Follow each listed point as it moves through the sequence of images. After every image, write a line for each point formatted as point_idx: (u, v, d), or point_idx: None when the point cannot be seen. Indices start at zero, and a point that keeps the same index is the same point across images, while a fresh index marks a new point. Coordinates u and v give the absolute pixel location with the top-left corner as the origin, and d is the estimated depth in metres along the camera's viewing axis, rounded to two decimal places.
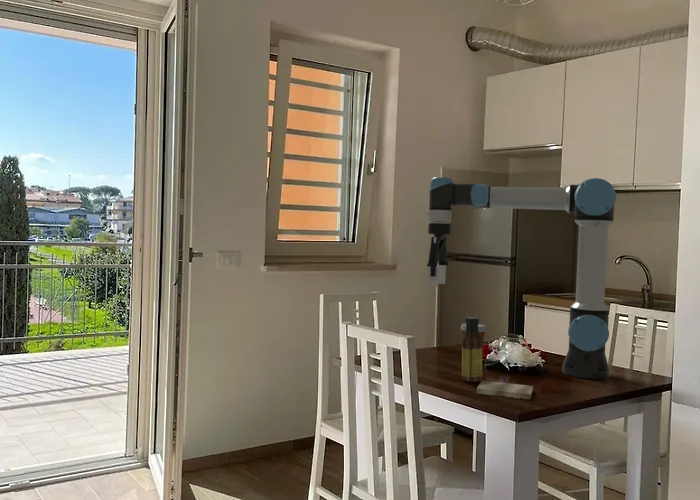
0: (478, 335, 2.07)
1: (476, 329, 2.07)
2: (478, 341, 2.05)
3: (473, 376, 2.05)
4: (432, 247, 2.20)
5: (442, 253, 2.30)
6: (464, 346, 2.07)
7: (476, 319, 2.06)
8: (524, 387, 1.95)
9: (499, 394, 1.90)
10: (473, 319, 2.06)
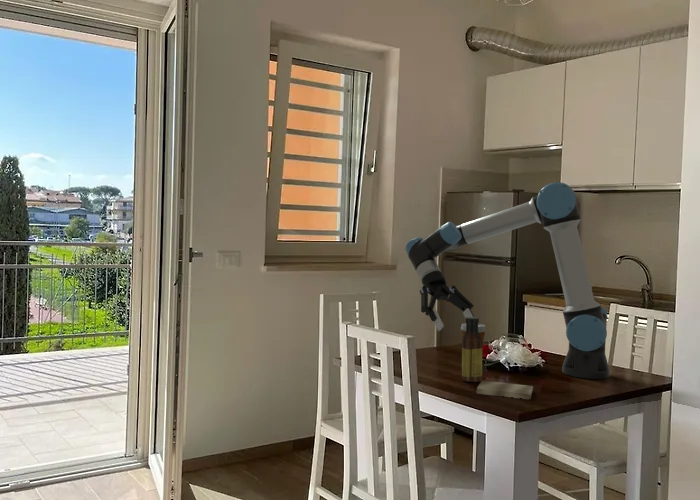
0: (478, 335, 2.07)
1: (477, 329, 2.07)
2: (478, 341, 2.05)
3: (473, 376, 2.05)
4: (422, 297, 2.17)
5: (454, 299, 2.21)
6: (464, 346, 2.07)
7: (476, 319, 2.06)
8: (524, 387, 1.95)
9: (499, 394, 1.90)
10: (473, 319, 2.06)
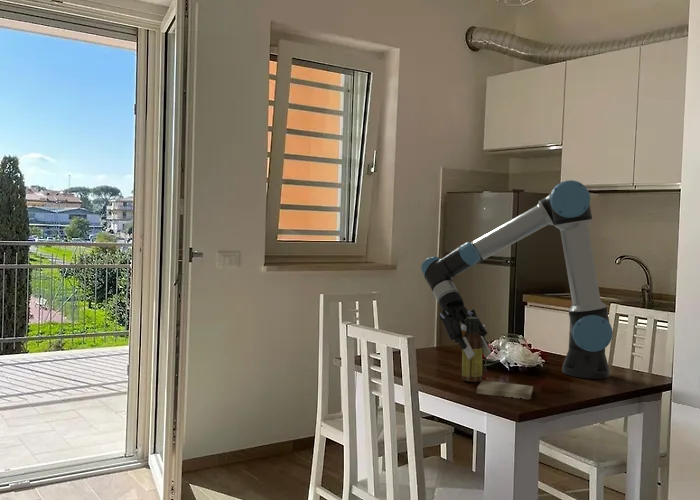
0: (478, 335, 2.07)
1: (477, 329, 2.07)
2: (478, 341, 2.06)
3: (473, 376, 2.05)
4: (445, 323, 2.10)
5: None
6: None
7: (476, 319, 2.06)
8: (524, 387, 1.95)
9: (499, 394, 1.90)
10: (473, 319, 2.06)
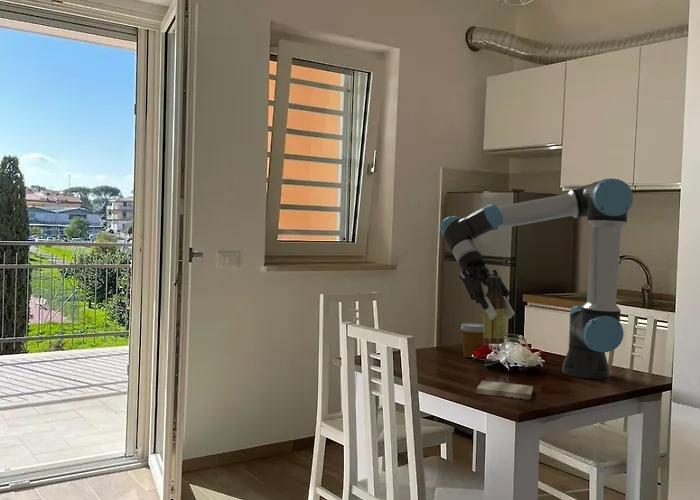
0: (500, 295, 1.97)
1: (499, 289, 1.97)
2: (501, 301, 1.96)
3: (495, 337, 1.95)
4: (465, 283, 2.00)
5: None
6: None
7: (498, 278, 1.96)
8: (524, 387, 1.95)
9: (499, 394, 1.90)
10: (495, 278, 1.96)
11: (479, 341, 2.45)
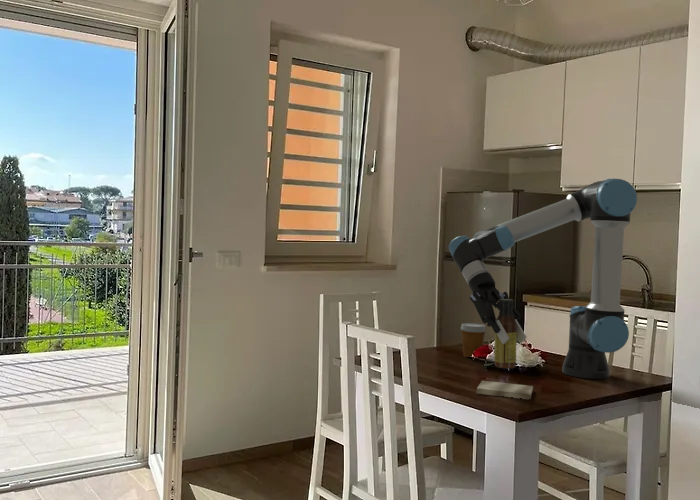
0: (513, 318, 1.93)
1: (511, 312, 1.93)
2: (513, 324, 1.92)
3: (507, 362, 1.91)
4: (476, 305, 1.96)
5: None
6: None
7: (511, 301, 1.92)
8: (524, 387, 1.95)
9: (499, 394, 1.90)
10: (508, 301, 1.92)
11: (479, 341, 2.45)
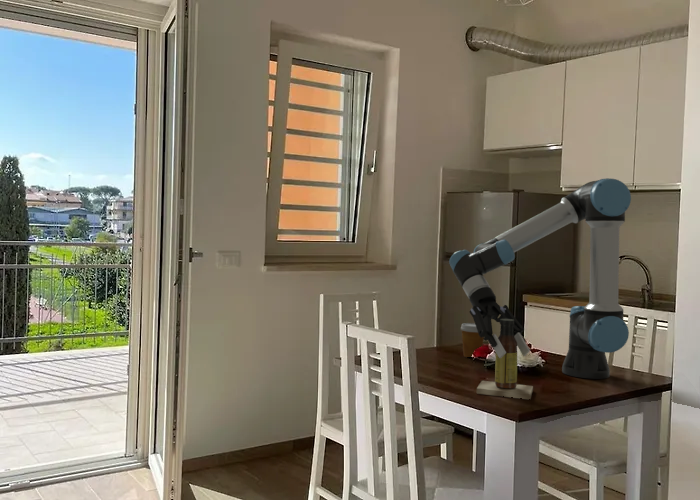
0: (513, 338, 1.93)
1: (512, 332, 1.93)
2: (513, 345, 1.92)
3: (507, 382, 1.91)
4: (475, 319, 1.96)
5: None
6: None
7: (512, 321, 1.92)
8: (524, 387, 1.95)
9: (499, 394, 1.90)
10: (508, 321, 1.92)
11: (479, 341, 2.45)
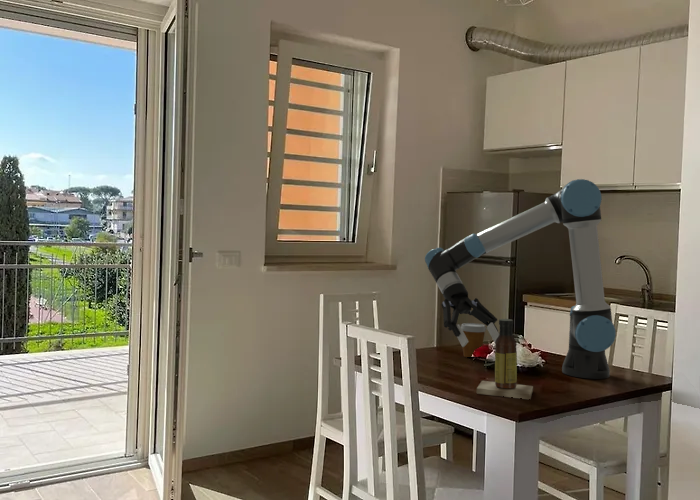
0: (513, 338, 1.93)
1: (511, 332, 1.93)
2: (513, 345, 1.92)
3: (507, 382, 1.91)
4: (444, 311, 2.07)
5: (477, 313, 2.11)
6: (498, 350, 1.93)
7: (510, 321, 1.92)
8: (524, 387, 1.95)
9: (499, 394, 1.90)
10: (507, 321, 1.92)
11: (479, 341, 2.45)
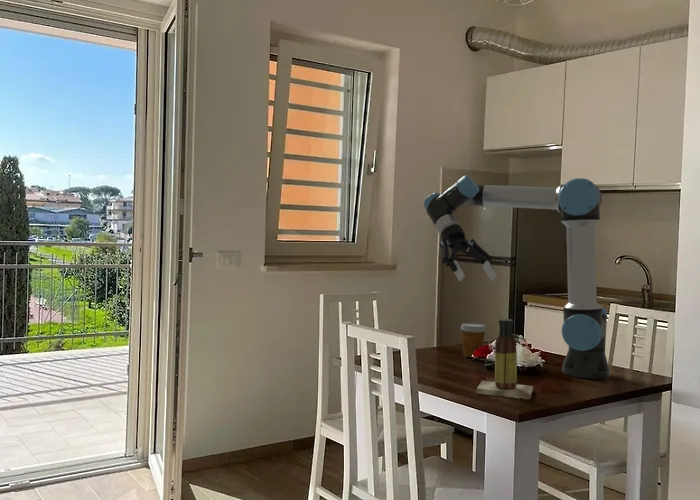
0: (513, 338, 1.93)
1: (511, 332, 1.93)
2: (513, 345, 1.92)
3: (507, 382, 1.91)
4: (442, 249, 2.18)
5: (473, 252, 2.22)
6: (497, 350, 1.93)
7: (510, 321, 1.92)
8: (524, 387, 1.95)
9: (499, 394, 1.90)
10: (507, 321, 1.92)
11: (479, 341, 2.45)
